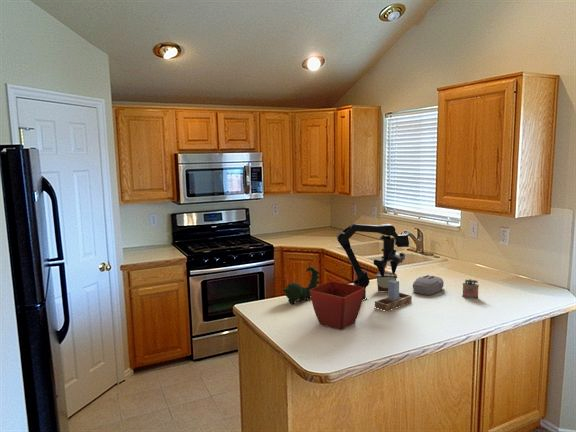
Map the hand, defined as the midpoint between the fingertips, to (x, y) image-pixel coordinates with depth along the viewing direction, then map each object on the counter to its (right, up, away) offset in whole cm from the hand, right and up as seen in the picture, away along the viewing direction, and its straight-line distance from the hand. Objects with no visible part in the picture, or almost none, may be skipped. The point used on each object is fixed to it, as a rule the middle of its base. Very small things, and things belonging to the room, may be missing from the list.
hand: (388, 275), depth 228 cm
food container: (+2, -11, +16) cm, 20 cm away
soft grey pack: (+26, -11, +14) cm, 32 cm away
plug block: (+1, -13, -8) cm, 16 cm away
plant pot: (-31, -18, -30) cm, 47 cm away
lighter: (+45, -12, +1) cm, 47 cm away
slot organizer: (+1, -14, -8) cm, 16 cm away
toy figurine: (-47, -14, +2) cm, 49 cm away
